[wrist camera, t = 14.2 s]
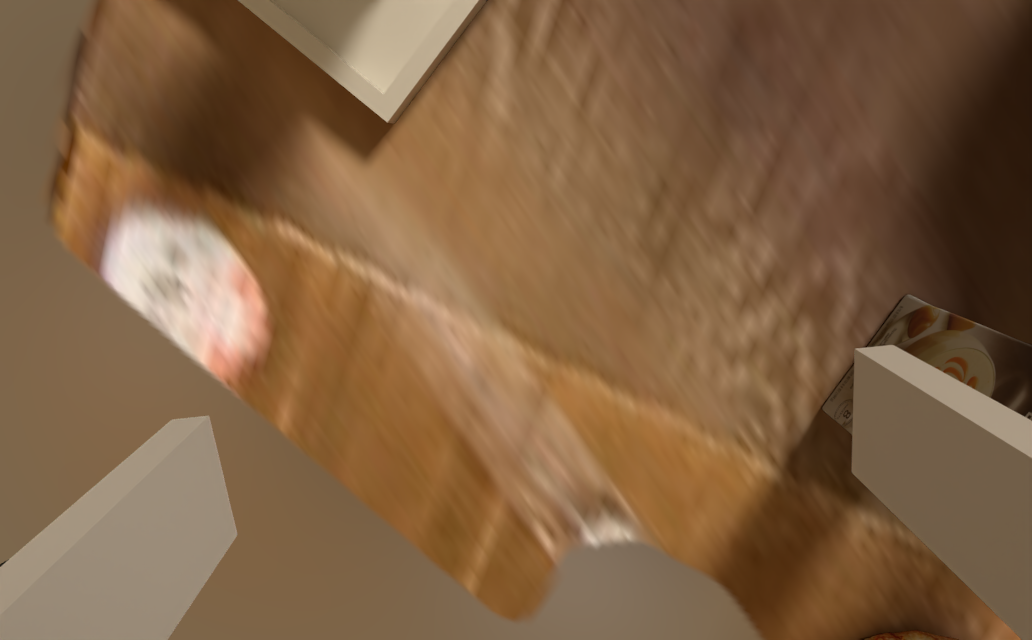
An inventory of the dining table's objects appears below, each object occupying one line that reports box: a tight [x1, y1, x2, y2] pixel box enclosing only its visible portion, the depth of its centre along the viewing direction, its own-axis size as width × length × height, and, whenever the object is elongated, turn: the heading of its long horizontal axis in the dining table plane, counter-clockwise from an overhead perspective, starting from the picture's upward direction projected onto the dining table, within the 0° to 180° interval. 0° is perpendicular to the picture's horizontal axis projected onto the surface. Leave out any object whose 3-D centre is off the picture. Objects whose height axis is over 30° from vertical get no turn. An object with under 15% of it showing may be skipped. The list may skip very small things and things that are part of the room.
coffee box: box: [822, 295, 1032, 434], centre depth 36 cm, size 9×6×16 cm
